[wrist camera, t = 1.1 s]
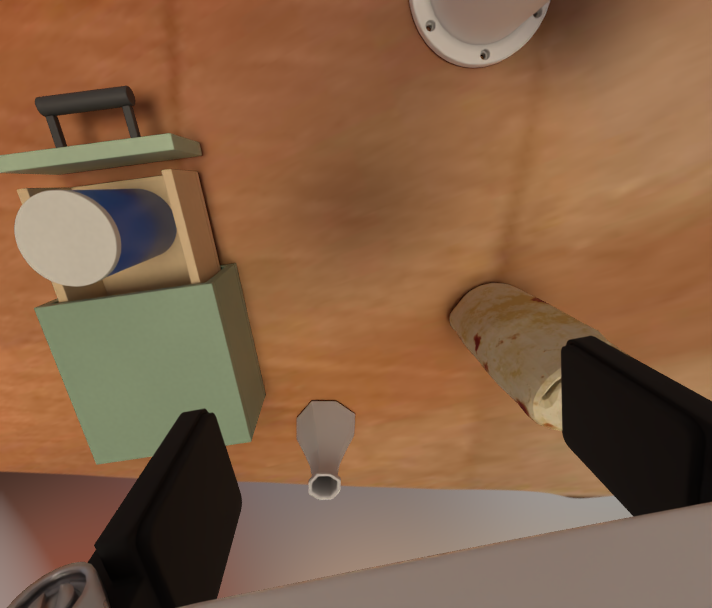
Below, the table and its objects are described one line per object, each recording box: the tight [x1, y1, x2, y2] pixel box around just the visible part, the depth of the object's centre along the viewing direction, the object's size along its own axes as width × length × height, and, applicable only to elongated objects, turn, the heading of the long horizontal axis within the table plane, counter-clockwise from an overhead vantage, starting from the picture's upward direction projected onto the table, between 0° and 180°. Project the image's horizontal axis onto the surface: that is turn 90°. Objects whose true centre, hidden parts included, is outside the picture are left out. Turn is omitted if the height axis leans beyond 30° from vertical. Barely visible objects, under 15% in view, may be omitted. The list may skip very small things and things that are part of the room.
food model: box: [449, 283, 628, 431], centre depth 34 cm, size 10×7×20 cm
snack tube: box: [14, 189, 177, 287], centre depth 31 cm, size 6×6×11 cm
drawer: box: [0, 86, 221, 303], centre depth 34 cm, size 19×13×7 cm
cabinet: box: [34, 263, 266, 464], centre depth 38 cm, size 16×15×9 cm
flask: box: [297, 401, 355, 500], centre depth 42 cm, size 7×7×10 cm
